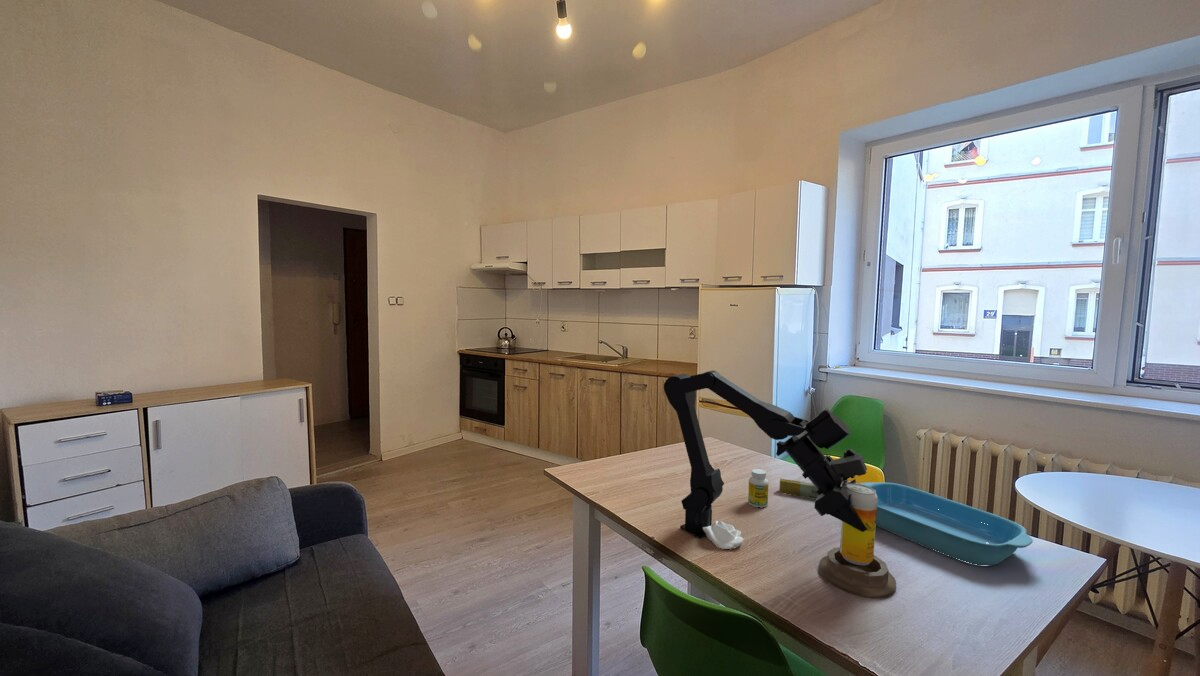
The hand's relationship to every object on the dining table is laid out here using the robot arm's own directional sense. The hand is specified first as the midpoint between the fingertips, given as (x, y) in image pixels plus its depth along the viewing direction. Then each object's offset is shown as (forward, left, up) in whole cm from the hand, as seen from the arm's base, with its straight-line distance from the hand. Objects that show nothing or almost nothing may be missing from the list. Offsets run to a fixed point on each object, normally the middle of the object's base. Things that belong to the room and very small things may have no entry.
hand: (866, 524), depth 94 cm
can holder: (0, +1, -12) cm, 12 cm away
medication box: (+31, +30, -12) cm, 45 cm away
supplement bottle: (+15, +34, -12) cm, 39 cm away
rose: (-10, +27, -12) cm, 32 cm away
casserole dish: (+35, -2, -12) cm, 37 cm away
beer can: (0, +1, -8) cm, 8 cm away
